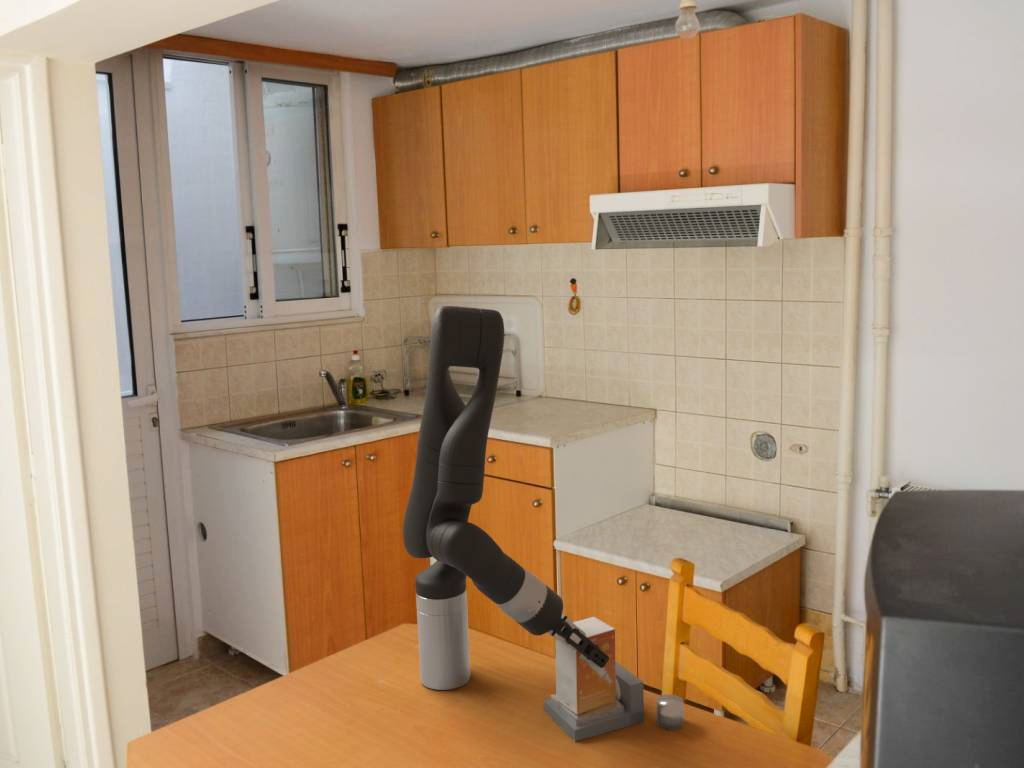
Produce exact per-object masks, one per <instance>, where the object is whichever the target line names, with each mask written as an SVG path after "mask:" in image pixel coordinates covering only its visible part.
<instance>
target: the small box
mask: <svg viewBox="0 0 1024 768" xmlns="http://www.w3.org/2000/svg"><path fill="white" fill-rule="evenodd" d="M573 623H574V624H575V625H576V626H577V627H578V628H580V629H581V630H582V631H584V632H585V633H586V637H587V638H588V639H589V640H590V641H592V642H594V643H595V645H596V644H597V645H598V647H599V648H600V650H601V651H602V652H603V653H605V654H606V655H607V656H608V657H609V660H608V662H607V663H606V664H605V666H604V667H603V668H600V667H599V666H598V665H596V664H595V663H594V662H593V661H590V660H588V659H586V658H585V657H584V656H583V654H582V653H580V652H579V651H578V650H572V649H570V648H569V647H568V646H567V645H565V644H564V643H563V642H562V641H558V640H557V639H555V638H554V643H555V644H554V646H555V648H554V649H555V686H556V689H555V690H556V693H555V694H556V697H557V698H556V699H557V701H559V702H560V703H561V704H563V705H564V706H566V707H567V708H568V709H570V710H571V711H573V712H574V713H575V714H577V715H578V714H581V713H583V712H586V711H589V710H592V709H595V708H597V707H600V706H603V705H606V704H609V703H613V702H615V701H616V674H615V661H616V628H614V627H613V626H611V625H609V624H607V623H605V622H604V621H602V620H600V619H599V618H597V617H595V616H591V617H587V618H585V619H580V620H575V621H573ZM570 626H571V625H570ZM571 627H572V626H571ZM572 628H573V627H572ZM560 637H561V636H560ZM562 638H563V637H562ZM563 639H564V638H563ZM564 640H565V639H564ZM565 641H566V640H565ZM575 643H576V642H575Z"/></svg>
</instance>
